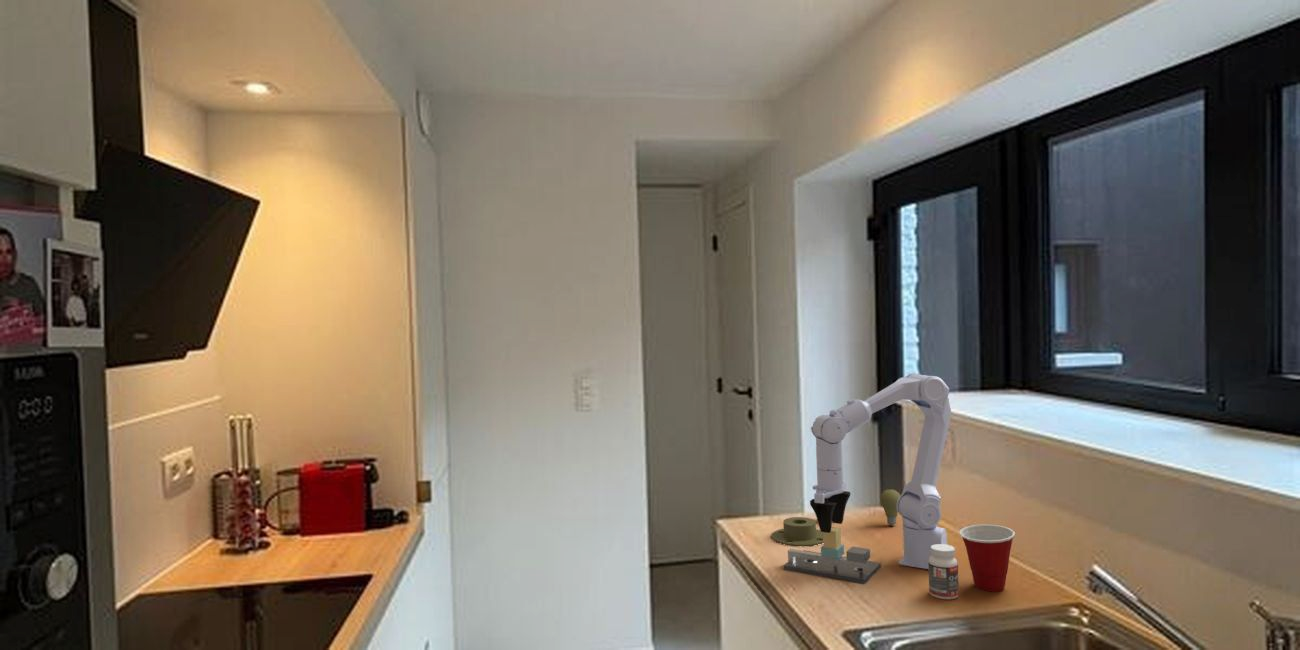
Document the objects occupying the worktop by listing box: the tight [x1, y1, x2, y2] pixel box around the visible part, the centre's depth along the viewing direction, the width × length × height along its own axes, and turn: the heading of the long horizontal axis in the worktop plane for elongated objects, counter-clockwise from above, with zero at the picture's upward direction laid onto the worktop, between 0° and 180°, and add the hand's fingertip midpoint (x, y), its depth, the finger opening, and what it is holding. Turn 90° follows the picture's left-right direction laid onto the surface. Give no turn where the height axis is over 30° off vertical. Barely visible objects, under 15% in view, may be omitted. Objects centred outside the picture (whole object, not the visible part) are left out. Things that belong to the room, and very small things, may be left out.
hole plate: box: [783, 549, 882, 585], centre depth 168 cm, size 19×12×1 cm, turn 56°
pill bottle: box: [928, 544, 960, 600], centre depth 150 cm, size 6×6×10 cm
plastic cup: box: [959, 524, 1016, 592], centre depth 154 cm, size 11×11×12 cm
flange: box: [770, 516, 823, 547], centre depth 192 cm, size 5×15×15 cm
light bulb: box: [879, 488, 901, 527], centre depth 199 cm, size 6×6×10 cm
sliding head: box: [820, 526, 845, 565], centre depth 166 cm, size 4×4×9 cm
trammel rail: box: [787, 546, 871, 575], centre depth 166 cm, size 19×4×5 cm, turn 56°
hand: (831, 527), depth 166 cm, fingers open, 7 cm apart
